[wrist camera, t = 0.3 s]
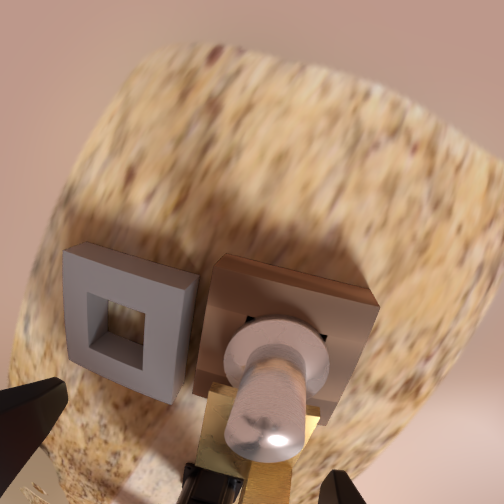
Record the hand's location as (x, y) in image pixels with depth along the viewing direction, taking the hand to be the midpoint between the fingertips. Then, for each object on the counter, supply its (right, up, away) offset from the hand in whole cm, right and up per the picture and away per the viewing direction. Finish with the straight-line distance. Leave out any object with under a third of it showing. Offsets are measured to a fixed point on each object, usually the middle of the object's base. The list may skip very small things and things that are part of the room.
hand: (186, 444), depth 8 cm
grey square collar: (-7, +1, +15) cm, 17 cm away
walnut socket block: (+4, 0, +14) cm, 14 cm away
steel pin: (+4, 0, +14) cm, 14 cm away
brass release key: (+2, -7, +11) cm, 14 cm away
